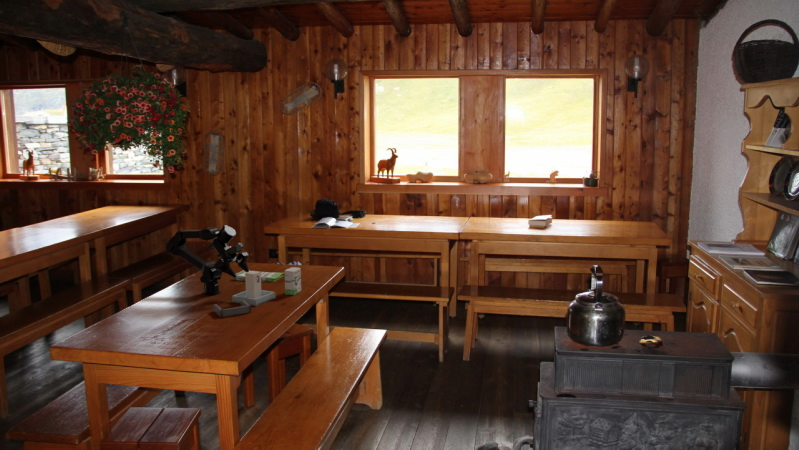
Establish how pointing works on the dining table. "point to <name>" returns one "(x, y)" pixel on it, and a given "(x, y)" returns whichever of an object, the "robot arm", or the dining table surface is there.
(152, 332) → the dining table surface
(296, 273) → the ink box
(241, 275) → the dish towel
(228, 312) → the bay
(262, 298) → the tray
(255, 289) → the tall beige block
